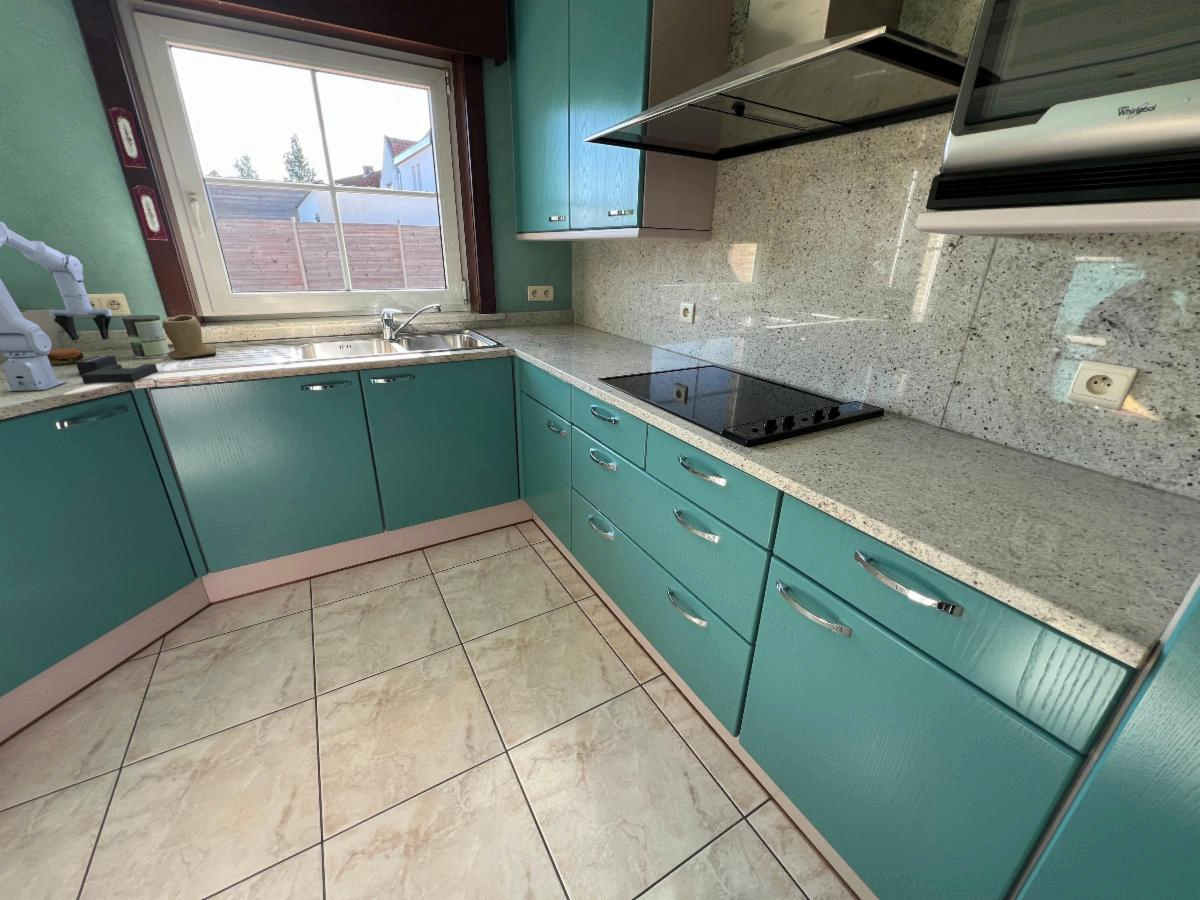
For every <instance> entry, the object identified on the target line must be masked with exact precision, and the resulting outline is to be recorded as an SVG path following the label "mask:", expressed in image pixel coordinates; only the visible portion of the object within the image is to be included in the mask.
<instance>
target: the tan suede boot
mask: <svg viewBox="0 0 1200 900" xmlns="http://www.w3.org/2000/svg"><path fill="white" fill-rule="evenodd" d="M161 324H162V328H163V331H164V334H165V336H166V338H168V340H169V341H170V342H171V344H172V345H173V348H174V349H173V350H171V351H170V352H169V353H168V354H167V355H168V356H167V357H169V358H172V359H186V358H187V359H188V358H196V357H206V356H213V355H216V354H217V347H216V345H215V344H205V343H203V338H202V337H203V336H202V335H203V334H202V325H201V322H200V321H199V320H198V318H197V317H196V316H194V315H191V314H179V315H175V316H173V317H172V316H170V317H169V316H167V317H166V318H164V319H163V320H162V321H161Z"/></svg>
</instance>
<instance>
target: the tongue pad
mask: <svg viewBox="0 0 1200 900" xmlns="http://www.w3.org/2000/svg"><path fill="white" fill-rule="evenodd" d="M75 365H76V367H77V370H78V374H79V376H81V375H83V374H86V373H89V372H92V371H95V370H98V369H101V368H104V367H107V366H109V365H119V364H118V362H117V359H116V356H115V355H96V356H92V357H89V358H86V359H83V360H82V361H79V362H76V363H75Z"/></svg>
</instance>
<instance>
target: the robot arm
mask: <svg viewBox="0 0 1200 900" xmlns="http://www.w3.org/2000/svg"><path fill="white" fill-rule="evenodd" d="M3 245H4V246H7V247H10V248H12V249H14V250H16V251H18V252H19V251H20V252H21V253H22V255H23V256H24V257H25V258H26V259H28V260H30V261H32V262H34V263H36V264H38V265H41V266H42V267H44V268H45V270H46V271H47V273H48V274H52V275H53V278H54V280H55V282H56V285H57V288H58V291H59V293H60V296H61V298H62V301H63V304H64V306H65V309H51V310H48V314H49V316H50V318H53V321H54V323H56V324H57V325H59V326H60V327H61V329H63V330H64V331H65V333H66V334H67V335H68V336H69V338H70V339H71V340H72V341H77V340H79V334H78V332H77V330H76V327H75V322H74V321H75V320H74V317H75V318H76V317H92V320H93V322H94V323H95V325H96V327H97V329H98V331H99V334H100V338H101V339H102V340H103V341H105V340H109V338H110V337H109V329H110V328H109V327H110V323H111V319H112V316H113V312H112V309H105V308H104V309H103V308H102V309H101V308H93V306H92V305H91V301H90V298H89V296H88V293H87V290H86V288H85V284H84V281H83V280H84V275H83V271H84V266H83V264H82V263H81V262H80V260H79V259H78V258H77V257H76V256H74V255H73V254H64V253H62V252H60V251H59V250H58V249H54V248H53V247H50V246H49V245H46V244H45V242H44V241H41V240H28V239H26V238H25V237H23V236H21V235H20V234H18V233H16V232H14V231H13V230H11V229H10V228H8V226H7V225H6V224H5V222H3V221H0V248H1V247H2V246H3ZM52 343H53V342H52V340H51V338H50V337H49V336H48V334H46V333H45V332H44V331H43V330H42V329H41V327H40V325H38V324H37V323H35V322H33V321H31V320H28V319H26V318H24V316H23V314H22V313H21V310H20V309H19V307H18V306H17V304H16V303H15V300H14V299H13V297H12V296H11V294H10V292H9V290H8V289H7V287H6V285H5V284H4V282H3V281H2V279H1V278H0V353H1V354H3V356H4V357H5V358H8V359H7V360H6V361H4V362H3V364H2V372H3V374H4V376H5V378H6V381H7V383H8V386H9V388H8V389H7V392H25V391H26V392H27V391H28V392H29V391H44V390H47V389H50V388H53V387H56V386H59V385H62V384H65V383H67V380H57V376H56V374H55V372H54V369H53V367H52V365H51V364H50V362H49V359H48V357H47V354H49V351H50V350H52V345H53V344H52Z"/></svg>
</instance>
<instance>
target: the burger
mask: <svg viewBox="0 0 1200 900" xmlns="http://www.w3.org/2000/svg"><path fill="white" fill-rule="evenodd" d="M47 357H48V359H49V362H50V364H51V366H63V365H69V364H76V362H79V361H82V360H84V358H86V356H84V354H83V352H82V351H81V350H80V349H78V348H75V347H72V348H55V349H51V350H50V351H49V354H47Z"/></svg>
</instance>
